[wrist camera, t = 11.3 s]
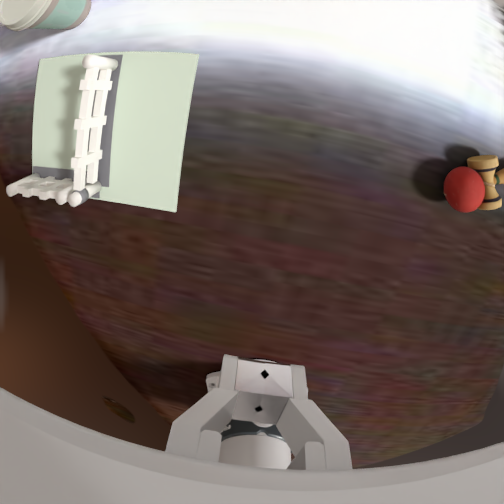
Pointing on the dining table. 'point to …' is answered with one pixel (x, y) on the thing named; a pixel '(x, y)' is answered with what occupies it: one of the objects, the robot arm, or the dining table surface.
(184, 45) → the dining table surface
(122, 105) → the card
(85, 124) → the white toy fence
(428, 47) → the dining table surface
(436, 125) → the dining table surface
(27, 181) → the fence fixed
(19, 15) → the coffee cup
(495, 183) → the kendama
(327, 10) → the dining table surface
